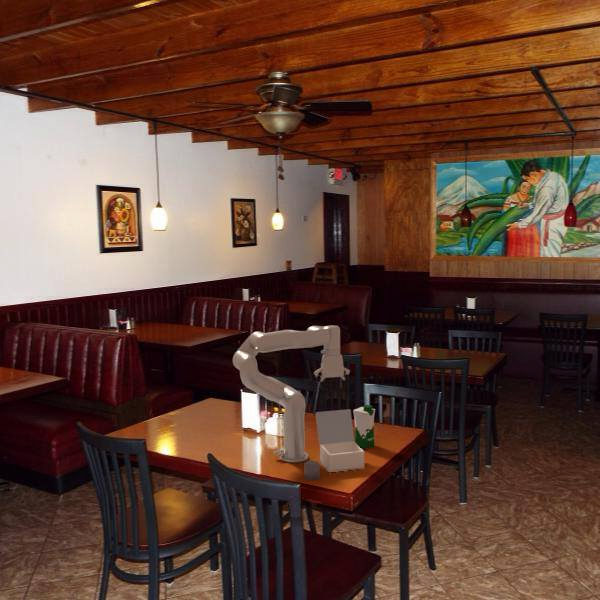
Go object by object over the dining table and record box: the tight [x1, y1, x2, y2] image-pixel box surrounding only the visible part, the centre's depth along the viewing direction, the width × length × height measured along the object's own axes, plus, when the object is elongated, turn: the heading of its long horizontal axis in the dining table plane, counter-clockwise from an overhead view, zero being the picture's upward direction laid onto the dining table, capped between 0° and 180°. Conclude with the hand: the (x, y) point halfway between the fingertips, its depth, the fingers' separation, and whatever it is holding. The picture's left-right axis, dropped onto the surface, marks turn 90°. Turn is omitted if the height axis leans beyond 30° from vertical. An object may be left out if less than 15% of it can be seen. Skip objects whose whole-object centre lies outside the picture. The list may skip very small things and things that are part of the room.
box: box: [319, 440, 365, 474], centre depth 271 cm, size 16×14×8 cm
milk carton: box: [352, 404, 376, 450], centre depth 294 cm, size 9×9×20 cm
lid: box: [315, 408, 355, 446], centre depth 279 cm, size 16×14×1 cm
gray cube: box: [303, 460, 321, 481], centre depth 258 cm, size 6×6×6 cm
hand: (332, 388), depth 285 cm, fingers open, 9 cm apart
